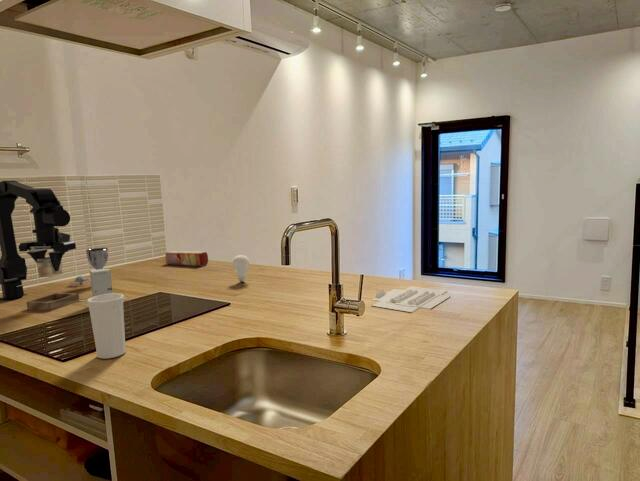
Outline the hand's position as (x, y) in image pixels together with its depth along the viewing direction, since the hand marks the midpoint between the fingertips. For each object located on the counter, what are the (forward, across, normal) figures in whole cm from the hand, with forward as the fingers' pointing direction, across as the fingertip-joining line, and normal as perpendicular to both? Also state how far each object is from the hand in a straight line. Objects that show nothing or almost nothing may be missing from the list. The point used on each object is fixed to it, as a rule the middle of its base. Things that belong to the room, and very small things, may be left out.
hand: (50, 271), depth 155 cm
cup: (+12, -53, +36) cm, 65 cm away
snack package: (+12, -9, -71) cm, 72 cm away
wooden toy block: (+2, 0, 0) cm, 2 cm away
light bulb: (+12, -53, -38) cm, 67 cm away
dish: (+12, +13, -26) cm, 31 cm away
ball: (+12, +13, -26) cm, 31 cm away
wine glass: (+12, +4, -27) cm, 30 cm away
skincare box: (+12, -18, -3) cm, 22 cm away
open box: (+12, 0, 0) cm, 12 cm away
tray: (+13, -120, -23) cm, 123 cm away
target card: (+12, -4, -10) cm, 16 cm away
